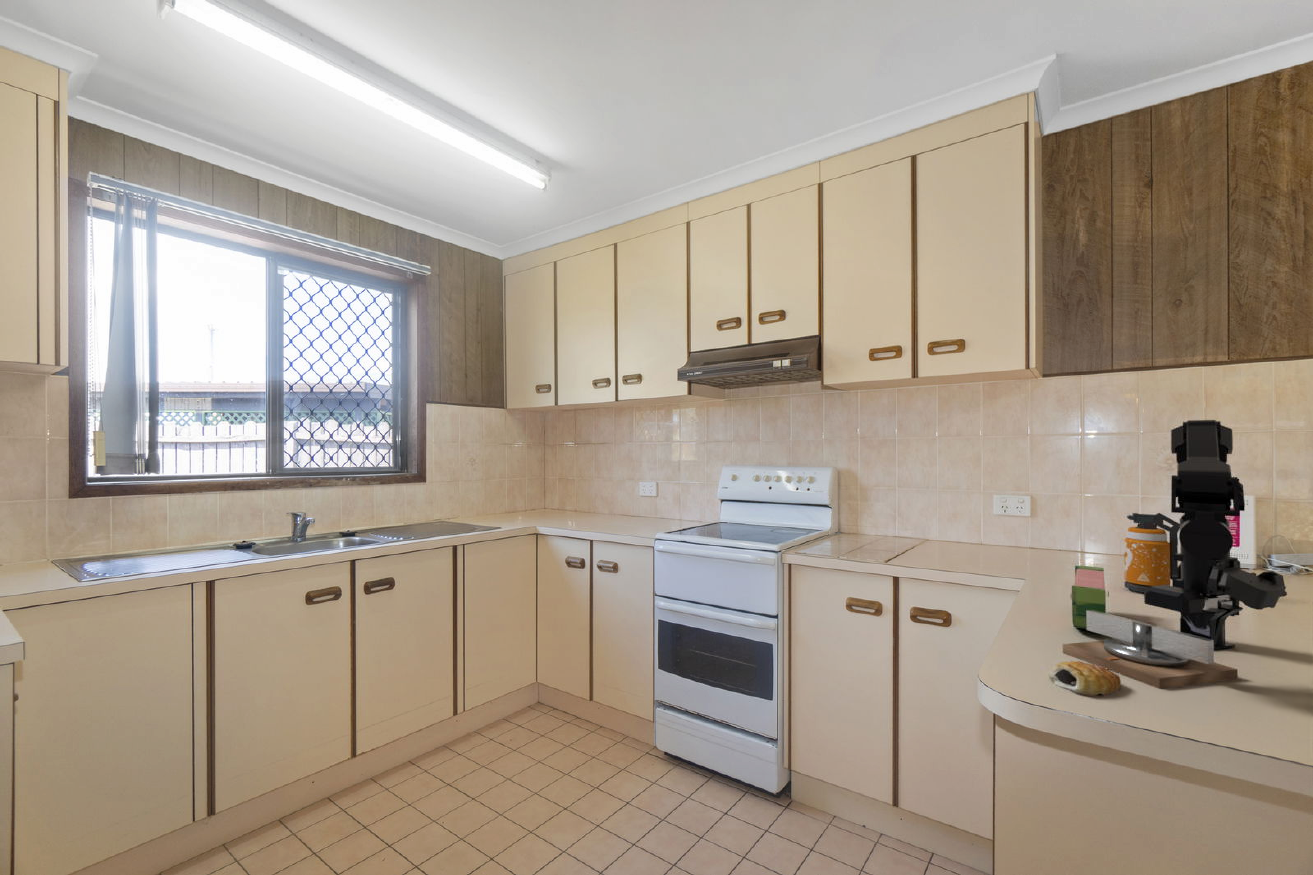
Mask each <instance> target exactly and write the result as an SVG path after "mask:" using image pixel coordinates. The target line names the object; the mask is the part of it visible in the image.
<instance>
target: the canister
mask: <svg viewBox="0 0 1313 875" xmlns="http://www.w3.org/2000/svg"><path fill="white" fill-rule="evenodd" d="M1126 518H1127V519H1128V520H1130V521H1133V523H1134V524H1137V525H1136V526H1130V527H1128V528H1127V530H1126V538H1125V539H1123V540H1124V541H1123V543H1124V544H1123V551H1124V553H1123V556H1124V557H1123V558H1124V560H1123V561H1124V564H1123V565H1124V566H1123V567H1124V569H1123V570H1124V576H1123V577H1124V588H1125V589H1129V590H1130V591H1132V592H1135V593H1138V594H1143V595H1144V591H1145V590H1146V589H1148V588H1149V587H1151V586H1160V585H1169V586H1171V581H1172V578H1173V575H1174V576H1177V568H1178V566H1179V561H1176V560H1174V554H1177V553H1179V550H1178V549H1179V548H1178V547H1179V537H1178V534H1179V532H1180V522H1177V521H1176V520H1174V519H1171V518H1169V517H1168V516H1167V515H1164V514H1162V513H1160V512H1158V513H1156V514H1152V513H1151V514H1150V513H1149V514H1148V513H1147V514H1146V513H1138V512H1133V513H1132V515H1131V514H1128V515H1126ZM1164 521H1165V522H1166V523H1167V524H1170V525H1172V526H1169V525H1167V524H1164ZM1158 527H1159V528H1158ZM1167 532H1169V534H1168V533H1167ZM1168 535H1169V539H1168ZM1168 540H1169V541H1168Z"/></svg>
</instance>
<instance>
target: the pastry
mask: <svg viewBox="0 0 1313 875" xmlns="http://www.w3.org/2000/svg"><path fill="white" fill-rule="evenodd" d="M1048 678H1049V679H1050V682H1052V684H1054V685H1055V686H1056V687H1060V688H1062V689H1065V690H1067V691H1070V692H1073V693H1075V694H1078V695H1084V696H1087V697H1088V696H1089V697H1090V696H1091V697H1092V696H1095V697H1097V696H1098V695H1101V694H1102V696H1105V695H1109V694H1112V693H1115V692H1117V691H1119V690H1120V688H1121V684H1122V683H1121V682H1122V681H1121V677H1120V675H1118V673H1115V672H1114V671H1111V670H1108V669H1106V668H1104V667H1100V666H1097V665H1095V664H1092V663H1088V662H1086V663H1085V662H1083V661H1081V660H1080V661H1074V660H1071V661H1069V662H1068V661H1061V662H1059V663H1056V664H1055V666H1054V667H1052V668H1051V670H1050V672H1049V673H1048Z"/></svg>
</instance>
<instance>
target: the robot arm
mask: <svg viewBox="0 0 1313 875" xmlns="http://www.w3.org/2000/svg"><path fill="white" fill-rule="evenodd" d="M1170 436H1171V437H1170V451H1171V454H1172V455H1175V456H1176V458H1175V459H1176V460H1175V461H1176V464H1177V468H1176V469H1177V471H1176V473H1177V474H1176V475H1171V485H1170V486H1171V492H1170V493H1171V494H1170V495H1171V498H1170V500H1171V508H1170V510H1171V513H1172V514H1173V513H1175V514H1182V515H1181V517H1180V518H1179V524H1180V529H1179V532H1178V534H1179V535H1178V541H1179V543H1180V544H1179V545H1180V550H1179V551H1180V553H1179V552H1178V553H1177V554H1174V560H1176V561H1178V562H1180V563H1179V564H1178V568H1177V576H1174V575H1173V578H1172V580H1171V582H1172V585H1170V586H1169V585H1160V586H1151V587H1149V588H1148V589H1146V590H1145V591H1144V594H1143V596H1144V598H1143V600H1144V604H1145V605H1148V606H1153V607H1157V608H1159V609H1161V608H1162V609H1165V610H1171V611H1174V612H1178V613H1180V616H1179V617H1180V618H1179V625H1180V626H1179V627H1180V628H1179V632H1183V633H1188V634H1192V635H1196V636H1200V637H1204V638H1208V639H1212V640H1214V650H1221V649H1230V648H1236V644H1234V643H1231V642H1228V641H1226V620H1227V618H1228V617H1235V616H1240V612H1241V611H1243V609H1244V607H1243V606H1240V602H1241V603H1243V604H1244V606H1246V607H1247V608H1250V609H1254V610H1259V611H1260V610H1264V609H1267V608H1271V609H1274V608H1275V607H1276V605H1277V603H1278V602H1279V599H1280V598H1281V597H1282V598H1283V597H1286V596H1287V595H1288V593H1287V591H1286V588H1287V586H1286V585H1285V580H1284V575H1282V574H1281V573H1278V572H1276V571H1273V570H1269V571H1267V570H1266V571H1263V572H1261V573H1259V574H1258V575H1257V573H1256V572H1248V571H1245V570H1244V569H1242V568H1241V561H1240V560H1238V557H1232V556H1231V549H1233V546H1234V537H1233V535H1232V533H1231V530H1230V521H1229V520H1228V518H1227V516H1228V517H1240V516H1241V513H1240V512H1245V509H1246V508H1245V507H1246V506H1245V494H1244V492H1245V491H1244V484H1242V482H1240V478H1239V477H1238V476H1232V470H1231V465H1230V464H1228V455H1232V454H1233V449H1234V445H1233V444H1234V440H1233V439H1234V438H1233V429H1232V428H1230V427H1227V426H1225V425H1222V424H1221V421H1220V420H1215V419H1201V420H1200V419H1197V420H1196V419H1195V420H1193V419H1192V420H1187V421H1182V425H1180V426H1177V427H1176V428H1173V429H1171V430H1170ZM1177 504H1178V505H1179V506H1177ZM1231 506H1233V509H1231Z"/></svg>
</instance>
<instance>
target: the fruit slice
mask: <svg viewBox="0 0 1313 875" xmlns="http://www.w3.org/2000/svg"><path fill="white" fill-rule="evenodd" d="M1105 583H1106V582H1105V570H1104V567H1100V566H1099V567H1097V566H1088V565H1074V584H1073V585H1071V594H1070V599H1071V612H1072V613H1071V614H1072V616H1071V618H1072V625H1073V627H1074V628H1078V629H1084V630H1087V617H1086V610H1095V611H1099V612H1103V613H1107V612H1106V611H1107V609H1106V607H1107V606H1106V602H1107V600H1106V597H1108V598H1109V596H1110V595H1109V594H1110V592H1109V591H1106V585H1105ZM1106 592H1107V593H1106ZM1106 594H1107V596H1106Z"/></svg>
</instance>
